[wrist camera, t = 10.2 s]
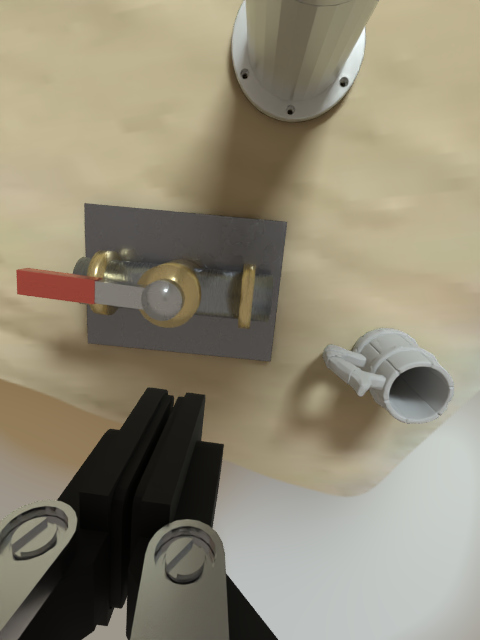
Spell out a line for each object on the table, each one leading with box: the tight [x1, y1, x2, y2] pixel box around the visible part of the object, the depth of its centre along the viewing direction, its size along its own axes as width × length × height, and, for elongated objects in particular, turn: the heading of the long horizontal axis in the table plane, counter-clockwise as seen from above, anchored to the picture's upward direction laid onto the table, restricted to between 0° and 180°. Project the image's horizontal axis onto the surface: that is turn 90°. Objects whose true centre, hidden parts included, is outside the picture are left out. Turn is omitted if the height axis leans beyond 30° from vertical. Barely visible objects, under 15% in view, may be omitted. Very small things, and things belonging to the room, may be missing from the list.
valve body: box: [73, 203, 287, 361], centre depth 36 cm, size 16×22×8 cm
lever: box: [16, 268, 185, 321], centre depth 31 cm, size 15×4×2 cm, turn 83°
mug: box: [323, 328, 454, 424], centre depth 35 cm, size 8×12×12 cm, turn 78°
